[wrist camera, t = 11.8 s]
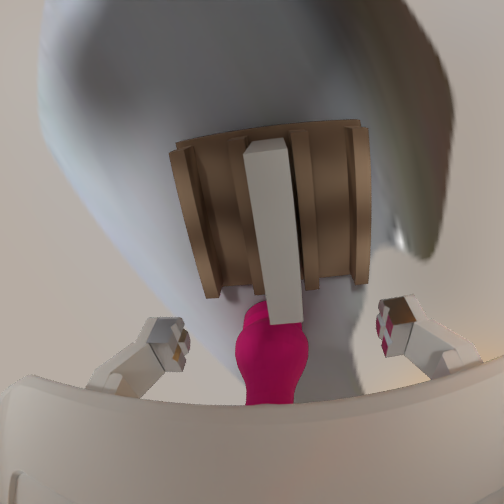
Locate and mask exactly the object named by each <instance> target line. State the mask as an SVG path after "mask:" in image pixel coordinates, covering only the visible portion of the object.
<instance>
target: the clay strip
mask: <svg viewBox="0 0 504 504" xmlns="http://www.w3.org/2000/svg"><path fill="white" fill-rule="evenodd" d="M243 158H244V164H245V170H246V176H247V182H248V188H249V194H250V200H251V206H252V212H253V219H254V225H255V231H256V237H257V243H258V250H259V256H260V262H261V268H262V275H263V281H264V287H265V294H266V300H267V306H268V313H269V319H270V325H275V324H287V323H298V322H303V306H302V291H301V277H300V264H299V252H298V241H297V230H296V220H295V210H294V200H293V191H292V182H291V174H290V166H289V158H288V150H287V146H286V144H285V141H284V138H274V139H266V140H258V141H252V142H251V144H250V145H249V147H248V148H247V149H246V151H245V152H244V153H243Z"/></svg>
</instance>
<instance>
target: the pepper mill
mask: <svg viewBox="0 0 504 504" xmlns="http://www.w3.org/2000/svg"><path fill="white" fill-rule="evenodd" d="M235 357H236V361H237V365H238V368H239V370H240V372H241V375H242V377H243V379H244V381H245V384H246V390H247V392H246V393H247V394H246V404H245V405H279V404H293V402H294V392H295V388H296V385H297V383H298V381H299V379H300V377H301V375H302V373H303V371H304V369H305V366H306V363H307V359H308V341H307V338H306V336H305V334H304V333H303V332H302V323H301V322H298V323H287V324H275V325H270V319H269V313H268V306H267V301H262V302H260V303H257V304H255V305H254V306H252V307H251V308H250V309H249V310H248V311H247V313H246V315H245V319H244V325H243V331H242V332H241V333H240V334H239V336H238V338H237V341H236V348H235Z"/></svg>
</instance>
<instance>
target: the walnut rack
mask: <svg viewBox="0 0 504 504" xmlns="http://www.w3.org/2000/svg"><path fill="white" fill-rule="evenodd" d="M274 138H284V141H285V144H286V146H287V150H288V158H289V166H290V174H291V182H292V191H293V200H294V210H295V220H296V230H297V241H298V252H299V264H300V277H301V280H303V279H304V283H305V291H307V290H317V289H319V278H322V277H331V276H340V275H349V274H351V276H352V278H353V281H354V283H355V285H361V284H368V279H369V265H370V246H371V165H370V147H369V133H368V128H365V127H361V124H360V120H357V119H350V120H328V121H313V122H300V123H290V124H280V125H272V126H264V127H256V128H249V129H243V130H236V131H230V132H224V133H219V134H213V135H208V136H203V137H198V138H193V139H188V140H184V141H180V142H177V143H176V147H177V149H176V150H174V151H172V152H170V153H169V157H170V162H171V166H172V171H173V175H174V179H175V184H176V188H177V192H178V196H179V200H180V205H181V209H182V213H183V217H184V221H185V224H186V228H187V232H188V236H189V240H190V243H191V247H192V251H193V255H194V258H195V262H196V265H197V269H198V272H199V276H200V279H201V283H202V286H203V290H204V293H205V296H206V299H209V298H219V296H220V293H221V289H222V287H223V286H236V285H248V284H253V289H254V294H255V295H264V294H265V287H264V281H263V275H262V268H261V262H260V256H259V250H258V243H257V237H256V231H255V225H254V219H253V212H252V206H251V200H250V194H249V188H248V182H247V176H246V170H245V164H244V158H243V153H244V152H245V151H246V149H247V148H248V147H249V145H250V144H251V142H252V141H258V140H266V139H274Z"/></svg>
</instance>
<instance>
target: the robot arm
mask: <svg viewBox="0 0 504 504" xmlns="http://www.w3.org/2000/svg"><path fill="white" fill-rule="evenodd" d="M378 309H379V311H380V313H379V314H378V315H377V320H376V329H377V334H378V337H379V338H380V339H381V340H383V341H382V345H381V346H382V349H383V352H384V354H385V357H392V356H398V355H403V354H404V356H406V357H407V358H408V359H409V360H410V361H411V362H412V363H414V364H415V365H416V366H417V367H418V368H419V369H420V370H421V371H423V372H424V373H425V374H426V375H427V376H428V377H429V378H430V379H431V380H430V381H426V382H422V383H418V384H415V385H411V386H406V387H402V388H398V389H393V390H388V391H383V392H378V393H373V394H368V395H362V396H355V397H349V398H342V399H335V400H326V401H317V402H307V403H295V404H279V405H243V406H242V405H240V406H236V405H233V406H232V405H201V404H185V403H173V402H163V401H153V400H146V399H140V398H141V397H142V396H143V395H144V394H145V393H146V392H147V391H148V390H149V389H150V388H151V387H152V386H153V384H155V383H156V381H157V380H158V379H159V378H160V377H161V376H162V375H163V374H164V373H165V372H183V369H184V366H185V363H186V359H185V357H184V356H185V355H186V354H187V353H189V350H190V337H189V334H188V332H187V331H186V330H185V329H184V328H183V327H184V322H183V319H182V318H180V317H150V318H148V319H147V320H146V322H145V324H144V326H143V328H142V330H141V332H140V334H139V336H138V338H137V340H136V342H135V343H131V344H130V345H128V346H127V347H126V348H124V349H123V350H121V351H120V352H119V353H117V354H116V355H115V356H113V357H112V358H110V359H109V360H108V361H106V362H105V363H103V364H102V365H101V366H99V367H98V368H97V369H95V371H94V373H93V374H92V376H91V378H90V380H89V382H88V384H87V386H86V388H85V389H83V388H79V387H75V386H71V385H67V384H63V383H59V382H56V381H52V380H48V379H45V378H42V377H39V376H36V375H27V376H25V377H23V378H22V379H20V380H18V381H17V382H15V383H14V384H12V385H10V386H9V387H8V388H7V389H5V390H4V391H3V392H2V394H1V395H0V504H504V355H502V356H500V357H497V358H495V359H492V360H490V361H487V362H485V363H483V361H482V359H481V357H480V355H479V353H478V351H477V350H476V348H475V346H474V344H473V343H472V342H470V341H469V340H467V339H465V338H464V337H462V336H460V335H459V334H457V333H455V332H454V331H452V330H450V329H448V328H447V327H445V326H443V325H441V324H440V323H438V322H436V321H435V320H433V319H428V317H427V316H426V314H425V312H424V310H423V308H422V307H421V305H420V303H419V302H418V300H417V298H416V297H415V295H414V294H411V295H406V296H402V297H395V298H389V299H382V300H380V302H379V305H378Z"/></svg>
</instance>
